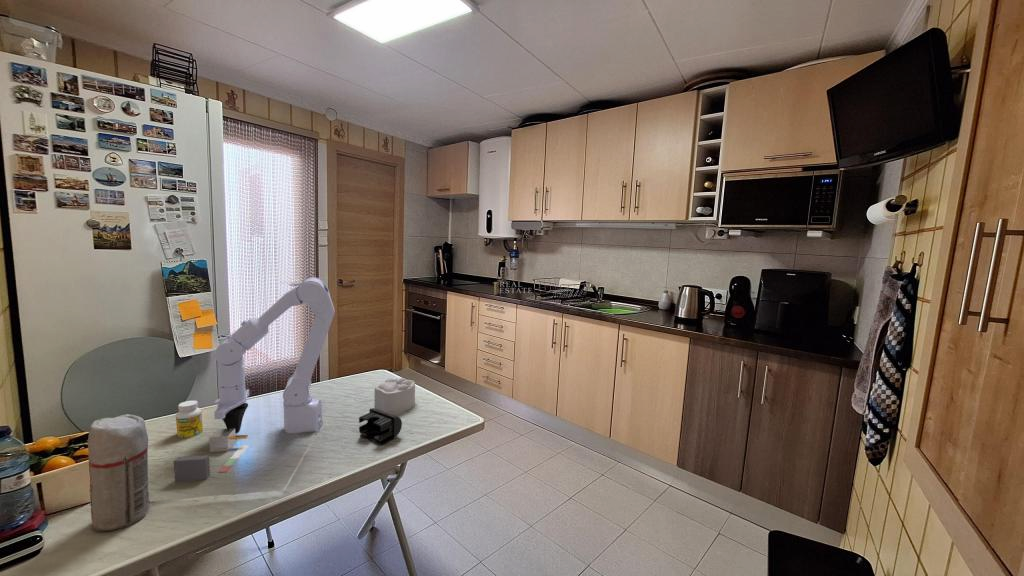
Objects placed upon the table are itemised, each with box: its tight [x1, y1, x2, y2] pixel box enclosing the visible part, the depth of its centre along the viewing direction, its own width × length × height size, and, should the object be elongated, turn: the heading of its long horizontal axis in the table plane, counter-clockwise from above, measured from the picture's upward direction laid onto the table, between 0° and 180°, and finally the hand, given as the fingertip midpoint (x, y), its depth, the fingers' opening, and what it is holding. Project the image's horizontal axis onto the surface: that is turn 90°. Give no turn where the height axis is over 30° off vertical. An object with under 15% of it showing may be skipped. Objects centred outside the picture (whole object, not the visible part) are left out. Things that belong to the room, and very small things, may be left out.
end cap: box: [358, 407, 403, 447], centre depth 110 cm, size 10×7×7 cm
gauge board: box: [173, 445, 250, 483], centre depth 93 cm, size 12×18×6 cm, turn 12°
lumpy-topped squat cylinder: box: [374, 377, 416, 415], centre depth 130 cm, size 10×13×9 cm
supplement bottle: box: [175, 400, 204, 439], centre depth 105 cm, size 5×5×10 cm
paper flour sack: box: [87, 413, 150, 532], centre depth 74 cm, size 8×8×20 cm
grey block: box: [208, 428, 249, 453], centre depth 100 cm, size 8×4×4 cm, turn 102°
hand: (234, 432), depth 105 cm, fingers closed
